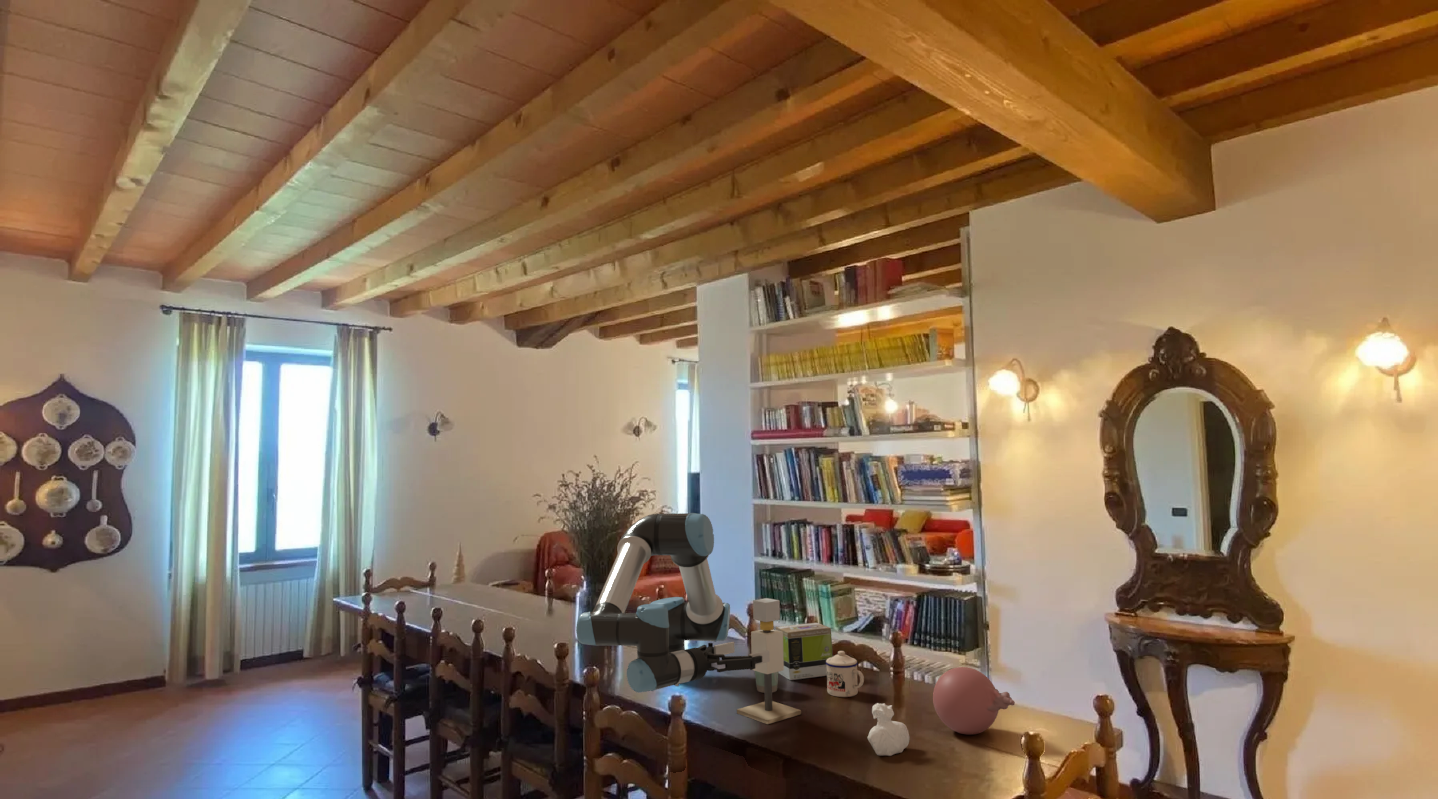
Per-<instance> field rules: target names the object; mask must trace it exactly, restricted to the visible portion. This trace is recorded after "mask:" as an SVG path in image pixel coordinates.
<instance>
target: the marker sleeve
mask: <svg viewBox="0 0 1438 799" xmlns="http://www.w3.org/2000/svg"><path fill="white" fill-rule="evenodd" d="M750 634H751V635H750V642H751V643H750V644H751V645H750V646H751V650H750V651H751V654H753V653H757V652H762V651H766V650H768V651H769V658H770V662H766V663H762V664H757V665H755V669H753V670H752V671H754V672H755V671H757V672H761V673H764V674H771V673H775V672H779V671H783V670H784V658H783V632H782V631H777V630H776V629H773V630H771V633H763V630H760V629H758V630H753V631H751V632H750Z"/></svg>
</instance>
